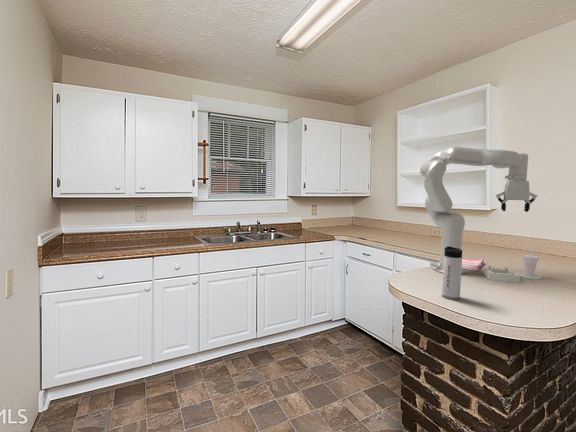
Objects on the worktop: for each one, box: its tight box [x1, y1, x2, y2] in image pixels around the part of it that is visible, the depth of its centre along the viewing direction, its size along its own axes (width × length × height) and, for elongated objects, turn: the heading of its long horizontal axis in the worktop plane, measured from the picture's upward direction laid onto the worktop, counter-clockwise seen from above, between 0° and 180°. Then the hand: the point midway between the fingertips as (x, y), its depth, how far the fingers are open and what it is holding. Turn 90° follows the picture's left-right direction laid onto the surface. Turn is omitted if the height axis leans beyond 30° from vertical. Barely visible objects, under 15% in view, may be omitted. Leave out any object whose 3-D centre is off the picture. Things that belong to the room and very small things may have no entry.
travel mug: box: [441, 246, 463, 301], centre depth 118 cm, size 6×7×20 cm
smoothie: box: [522, 247, 540, 276], centre depth 149 cm, size 6×6×14 cm
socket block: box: [482, 266, 521, 283], centre depth 147 cm, size 12×12×4 cm
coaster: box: [516, 272, 543, 280], centre depth 149 cm, size 10×10×1 cm
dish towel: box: [461, 257, 485, 272], centre depth 172 cm, size 17×23×4 cm
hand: (514, 211), depth 154 cm, fingers open, 9 cm apart
